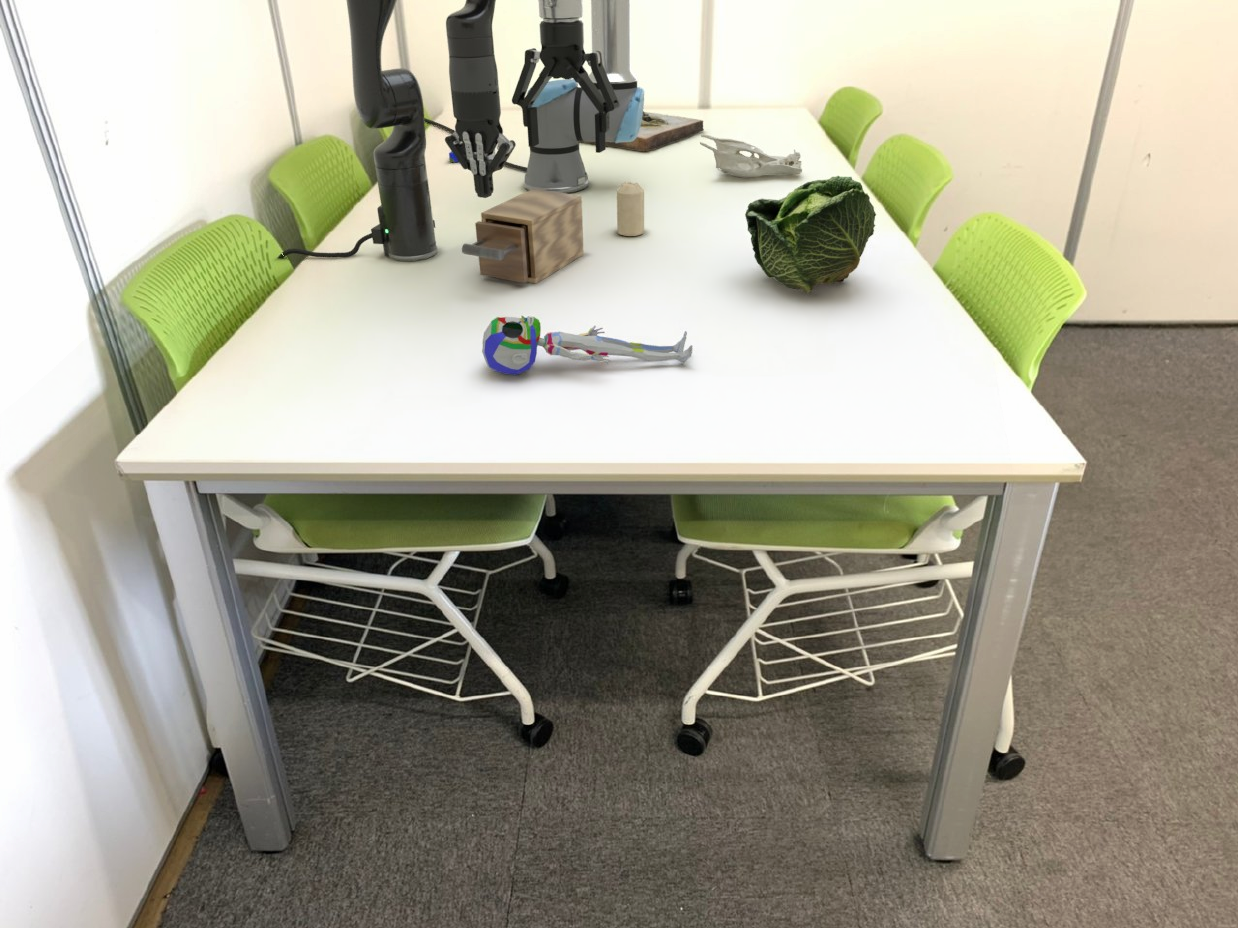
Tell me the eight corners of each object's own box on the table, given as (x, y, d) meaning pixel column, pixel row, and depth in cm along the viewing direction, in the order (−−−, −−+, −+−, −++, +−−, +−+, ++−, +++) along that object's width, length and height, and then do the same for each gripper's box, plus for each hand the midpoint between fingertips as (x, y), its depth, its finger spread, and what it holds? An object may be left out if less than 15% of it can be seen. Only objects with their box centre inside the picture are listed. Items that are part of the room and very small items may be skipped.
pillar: (476, 136, 251) (456, 154, 234) (476, 144, 252) (457, 162, 235) (468, 136, 251) (448, 153, 234) (469, 144, 252) (449, 162, 236)
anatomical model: (702, 130, 224) (803, 129, 220) (702, 168, 229) (801, 167, 225) (697, 145, 212) (805, 144, 208) (697, 184, 216) (802, 184, 213)
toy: (697, 344, 127) (483, 326, 122) (687, 397, 131) (480, 382, 126) (685, 315, 135) (485, 298, 130) (676, 366, 139) (482, 351, 135)
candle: (647, 229, 186) (647, 180, 180) (639, 237, 181) (639, 187, 176) (622, 227, 187) (621, 178, 182) (613, 235, 183) (612, 185, 177)
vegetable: (771, 309, 166) (722, 214, 159) (855, 252, 168) (810, 155, 160) (822, 325, 148) (769, 219, 140) (916, 260, 149) (868, 151, 142)
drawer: (506, 294, 154) (501, 240, 149) (461, 285, 158) (455, 232, 153) (570, 255, 170) (568, 205, 165) (528, 248, 174) (524, 199, 169)
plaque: (647, 125, 237) (559, 112, 252) (647, 153, 241) (560, 139, 256) (706, 107, 258) (622, 97, 273) (705, 133, 262) (622, 121, 277)
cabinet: (535, 283, 161) (531, 220, 155) (486, 274, 165) (480, 213, 159) (583, 254, 173) (581, 195, 167) (536, 246, 178) (533, 188, 172)
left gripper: (426, 87, 141) (439, 197, 150) (495, 93, 136) (505, 207, 145) (455, 79, 146) (466, 186, 156) (522, 85, 141) (530, 195, 150)
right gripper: (486, 20, 154) (497, 147, 166) (620, 24, 146) (621, 158, 157) (507, 15, 160) (516, 139, 171) (637, 19, 152) (637, 149, 163)
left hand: (485, 196), depth 150 cm, fingers closed
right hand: (566, 148), depth 164 cm, fingers open, 13 cm apart
